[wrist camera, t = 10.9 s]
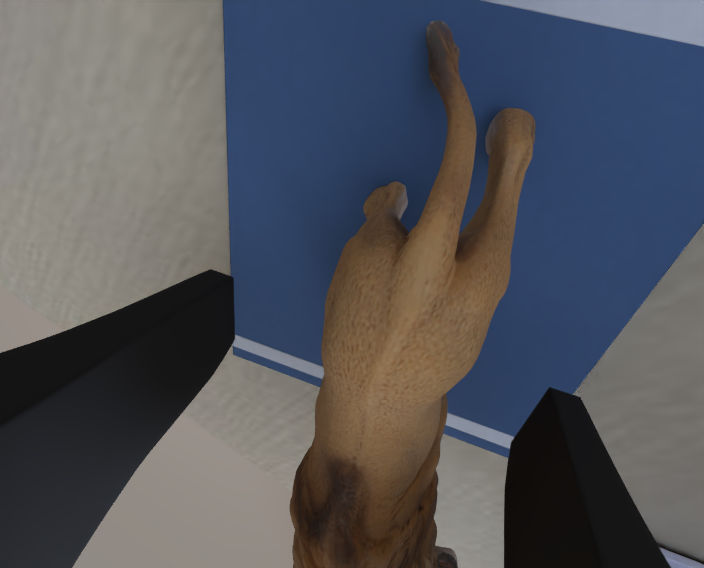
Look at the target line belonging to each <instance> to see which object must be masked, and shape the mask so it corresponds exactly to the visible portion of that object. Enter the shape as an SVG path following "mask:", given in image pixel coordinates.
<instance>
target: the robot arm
mask: <svg viewBox="0 0 704 568" xmlns="http://www.w3.org/2000/svg"><path fill="white" fill-rule="evenodd" d="M234 340H235V314H234V277H231V276H228V275H225V274H223V273H220V272H217V271H214V270H211V269H210V270H208V271H205V272H203V273H200V274H198V275H196V276H193V277H191V278H189V279H187V280H184V281H182V282H180V283H178V284H176V285H173V286H171V287H169V288H167V289H165V290H162V291H160V292H158V293H156V294H153V295H151V296H149V297H147V298H144V299H142V300H140V301H138V302H135V303H133V304H131V305H128V306H126V307H124V308H122V309H119V310H117V311H115V312H112V313H109V314H107V315H104V316H102V317H99V318H97V319H94V320H92V321H89V322H87V323H84V324H82V325H79V326H77V327H74V328H72V329H69V330H67V331H64V332H61V333H59V334H56V335H53V336H50V337H47V338H45V339H42V340H39V341H36V342H33V343H30V344H27V345H24V346H21V347H17V348H14V349H12V350H8V351H5V352H2V353H0V568H72V567H73V565H74V564H75V562H76V560H77V559H78V557H79V556H80V554H81V552H82V551H83V549H84V548H85V546H86V544H87V543H88V541H89V540H90V538H91V537H92V535H93V534H94V532H95V531H96V529H97V527H98V526H99V524H100V523H101V521H102V520H103V518H104V517H105V515H106V514H107V512H108V511H109V509H110V508H111V506H112V505H113V503H114V502H115V500H116V499H117V497H118V496H119V494H120V493H121V491H122V490H123V488H124V487H125V485H126V484H127V483H128V481H129V480H130V478H131V477H132V475H133V474H134V472H135V471H136V469H137V468H138V467H139V465H140V464H141V463H142V461H143V460H144V459H145V457H146V456H147V455H148V454H149V452H150V451H151V450H152V449H153V447H154V446H155V445H156V444H157V442H158V441H159V440H160V439H161V438H162V436H163V435H164V434H165V433H166V432H167V430H168V429H169V428H170V427H171V426H172V424H173V423H174V422H175V421H176V419H177V418H178V417H179V416H180V415H181V413H182V412H183V411H184V410H185V409H186V407H187V406H188V405H189V404H190V403H191V401H192V400H193V399H194V398H195V396H196V395H197V394H198V393H199V392H200V390H201V389H202V388H203V387H204V385H205V384H206V383H207V382H208V380H209V379H210V378H211V377H212V375H213V374H214V372H215V371H216V369H217V368H218V366H219V365H220V363H221V362H222V360H223V358H224V357H225V355H226V354H227V352H228V350H229V349H230V347H231V345H232V344H233V342H234ZM504 568H704V564H702V563H699V562H697V561H694V560H691V559H689V558H686V557H684V556H681V555H678V554H676V553H673V552H671V551H668V550H666V549H663V548H660V547H659V546H658V545H657V543H656V541H655V540H654V538H653V536H652V534H651V532H650V531H649V529H648V527H647V525H646V524H645V522H644V520H643V518H642V516H641V515H640V513H639V511H638V509H637V507H636V505H635V504H634V502H633V500H632V498H631V496H630V494H629V492H628V491H627V489H626V487H625V485H624V483H623V481H622V479H621V477H620V475H619V473H618V472H617V470H616V468H615V466H614V464H613V462H612V460H611V458H610V456H609V454H608V452H607V450H606V448H605V446H604V444H603V442H602V440H601V438H600V436H599V434H598V432H597V430H596V428H595V426H594V424H593V422H592V420H591V418H590V416H589V414H588V412H587V410H586V408H585V406H584V404H583V402H582V400H581V398H580V397H577V396H575V395H572V394H569V393H566V392H563V391H560V390H557V389H554V388H551V387H549V388H548V390H547V391H546V393H545V394H544V395H543V397H542V398H541V400H540V401H539V403H538V404H537V406H536V407H535V408H534V410H533V411H532V413H531V414H530V416H529V417H528V418H527V420H526V421H525V423H524V424H523V426H522V427H521V429H520V430H519V431H518V433H517V434H516V436H515V437H514V439H513V440H512V441H511V445H510V452H509V459H508V466H507V474H506V483H505V507H504Z"/></svg>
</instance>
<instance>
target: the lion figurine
mask: <svg viewBox="0 0 704 568" xmlns="http://www.w3.org/2000/svg"><path fill="white" fill-rule="evenodd" d="M426 43H427V48H428V70H429V76H430V79H431V80H432V82H433V83H434V85H435V86H436V88H437V90H438V91H439V94H440V96H441V98H442V101H443V103H444V107H445V111H446V114H447V138H446V145H445V151H444V156H443V160H442V163H441V167H440V170H439V173H438V175H437V178H436V180H435V182H434V185H433V187H432V190H431V192H430V195H429V197H428V200H427V202H426V205H425V207H424V210H423V212H422V215H421V217H420V219H419V221H418V223H417V225H416V226H415V227H414V228H413V229H412V230H411V231H410V233H409V232H408V230H407V229H406V228H405V226H404V225H403V224H402V223H401V222H400V219H401V217H402V215H403V212H404V211H405V209H406V208H407V205H408V199H407V193H406V187H405V185H403V184H402V183H400V182H398V181H394V182H391V183H390V184H389V185H388V186H382V187H379V188H377V189H375V190H374V191H373V192H372V193H371V194H370V196H369V197H368V198H367V200H366V202H365V203H364V207H363V210H364V214H365V216H366V218H367V221H366V222H365V223H364V224H363V225H362V227H361V228H360V229H359V231H358V232H357V234H356V235H355V236H353V237H352V238H351V239H350V240H349V241H348V242H347V243H346V244H345V246H344V248H343V251H342V254H341V257H340V259H339V262H338V264H337V267H336V270H335V273H334V276H333V278H332V281H331V284H330V287H329V290H328V293H327V297H326V302H325V316H324V327H323V336H322V345H321V358H322V363H323V368H324V376H323V379H322V383H321V387H320V391H319V394H318V397H317V401H316V408H315V425H316V427H315V438H314V440H313V443H312V446H311V447H310V448H309V449H308V451H307V453H306V454H305V456H304V458H303V460H302V462H301V464H300V465H299V467H298V469H297V471H296V475H295V480H294V485H293V494H292V498H291V502H290V514H291V518H292V522H293V525H294V528H295V534H294V542H293V560H294V564H293V568H458V566H457V557H456V554H455V552H454V551H453V550H452V549H450V548H446V547H439V546H435V542H436V537H437V527H436V523H435V521H434V514H435V511H436V503H437V485H438V476H437V472H436V467H437V464H438V461H439V457H440V441H441V438H442V435H443V432H444V428H445V424H446V419H447V407H448V402H447V394H446V393H447V392H448V391H449V390H450V389H451V388H452V387H453V386H454V385H456V384H457V383H458V382H459V381H460V380H461V379H462V378H464V377H465V375H466V374H467V373H468V372H469V371H470V370H471V368H472V367H473V365H474V363H475V361H476V360H477V358H478V356H479V353H480V351H481V348H482V345H483V343H484V340H485V338H486V334H487V331H488V328H489V325H490V322H491V319H492V317H493V314H494V311H495V309H496V307H497V305H498V303H499V301H500V299H501V298H502V297H503V295H504V293H505V292H506V289H507V286H508V283H509V278H510V271H511V261H510V256H511V250H512V244H513V238H514V231H515V224H516V216H517V209H518V201H519V197H520V192H521V188H522V184H523V180H524V176H525V172H526V170H527V168H528V166H529V163H530V161H531V159H532V155H533V144H534V142H535V120H534V118H533V116H532V115H531V114H530V113H529V112H527V111H525V110H522V109H518V108H506V109H503V110H501V111H500V112H499V113H498V114H497V115H496V116H495V117H494V119H493V120H492V122H491V123H490V126H489V128H488V131H487V134H486V138H485V146H486V152H487V154H488V155H489V164H488V176H487V183H486V188H485V192H484V197H483V199H482V202H481V204H480V206H479V207H478V209H477V211H476V212H475V214H474V216H473V217H472V219H471V220H470V222H469V223H468V224H467V226H466V227H465V228H464V230H463V231H462V232H461V233H460V235H459V230H460V225H461V221H462V217H463V213H464V209H465V204H466V200H467V196H468V192H469V188H470V182H471V177H472V171H473V164H474V156H475V146H476V136H477V132H476V122H475V117H474V114H473V110H472V106H471V104H470V101H469V98H468V95H467V92H466V89H465V87H464V85H463V83H462V81H461V78H460V74H459V57H460V50H459V48H458V47H457V45H456V44H455V42H454V39H453V35H452V32H451V30H450V28H449V27H448V25H447V24H446V23H444V22H443V21H432V22H430V24H429V25H428V26H427V28H426Z"/></svg>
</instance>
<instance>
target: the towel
mask: <svg viewBox="0 0 704 568" xmlns="http://www.w3.org/2000/svg"><path fill="white" fill-rule="evenodd" d="M432 21H443V22H444V23H446V24H447V25H448V27H449V28H450V30H451V32H452V35H453V39H454V42H455V44H456V45H457V47H458V48H459V50H460V57H459V74H460V78H461V81H462V83H463V85H464V87H465V89H466V92H467V95H468V98H469V101H470V104H471V106H472V110H473V114H474V117H475V122H476V132H477V136H476V146H475V156H474V164H473V171H472V177H471V182H470V188H469V192H468V196H467V200H466V204H465V209H464V213H463V217H462V221H461V225H460V230H459V235H460V233H461V232H462V231H463V230H464V228H465V227H466V226H467V224H468V223H469V222H470V220H471V219H472V217H473V216H474V214H475V212H476V211H477V209H478V207H479V206H480V204H481V202H482V199H483V197H484V192H485V188H486V183H487V176H488V164H489V155H488V154H487V152H486V146H485V138H486V134H487V131H488V128H489V126H490V123H491V122H492V120H493V119H494V117H495V116H496V115H497V114H498V113H499V112H500V111H501V110H503V109H506V108H518V109H522V110H525V111H527V112H529V113H530V114H531V115H532V116H533V118H534V120H535V142H534V144H533V155H532V159H531V161H530V163H529V166H528V168H527V170H526V172H525V176H524V180H523V184H522V188H521V192H520V197H519V201H518V209H517V216H516V224H515V231H514V238H513V244H512V250H511V256H510V261H511V271H510V278H509V283H508V286H507V289H506V292H505V293H504V295H503V297H502V298H501V299H500V301H499V303H498V305H497V307H496V309H495V311H494V314H493V317H492V319H491V322H490V325H489V328H488V331H487V334H486V338H485V340H484V343H483V345H482V348H481V351H480V353H479V356H478V358H477V360H476V361H475V363H474V365H473V367H472V368H471V370H470V371H469V372H468V373H467V374H466V375H465V377H464V378H462V379H461V380H460V381H459V382H458V383H457V384H456V385H454V386H453V387H452V388H451V389H450V390H449V391H448V392H447V393H446V394H447V402H448V407H447V419H446V424H445V428H444V432H443V434H446V435H449V436H451V437H454V438H457V439H459V440H462V441H465V442H467V443H470V444H473V445H475V446H478V447H481V448H483V449H486V450H489V451H491V452H494V453H497V454H499V455H502V456H505V457H507V458H509V452H510V445H511V441H512V440H513V439H514V437H515V436H516V434H517V433H518V431H519V430H520V429H521V427H522V426H523V424H524V423H525V421H526V420H527V418H528V417H529V416H530V414H531V413H532V411H533V410H534V408H535V407H536V406H537V404H538V403H539V401H540V400H541V398H542V397H543V395H544V394H545V393H546V391H547V390H548V388H549V387H551V388H554V389H557V390H560V391H563V392H566V393H569V394H573V393H574V392H575V390H576V389H577V388H578V387H579V385H580V384H581V383H582V381H583V380H584V379H585V377H586V376H587V375H588V373H589V372H590V371H591V370H592V368H593V367H594V366H595V364H596V363H597V362H598V360H599V359H600V358H601V357H602V355H603V354H604V353H605V351H606V350H607V349H608V347H609V346H610V345H611V343H612V342H613V341H614V340H615V338H616V337H617V336H618V334H619V333H620V332H621V330H622V329H623V328H624V326H625V325H626V324H627V323H628V321H629V320H630V319H631V317H632V316H633V315H634V313H635V312H636V311H637V310H638V308H639V307H640V306H641V304H642V303H643V302H644V300H645V299H646V298H647V296H648V295H649V294H650V293H651V291H652V290H653V289H654V287H655V286H656V285H657V283H658V282H659V281H660V279H661V278H662V277H663V276H664V274H665V273H666V272H667V270H668V269H669V268H670V266H671V265H672V264H673V262H674V261H675V260H676V259H677V257H678V256H679V255H680V253H681V252H682V251H683V249H684V248H685V247H686V246H687V244H688V243H689V242H690V240H691V239H692V238H693V236H694V235H695V234H696V232H697V231H698V230H699V229H700V227H701V226H702V225H703V223H704V0H223V22H224V56H225V91H226V125H227V160H228V194H229V229H230V264H231V277H234V314H235V340H234V342H233V354H234V355H236V356H238V357H241V358H244V359H246V360H249V361H252V362H254V363H257V364H260V365H262V366H265V367H268V368H270V369H273V370H276V371H278V372H281V373H284V374H286V375H289V376H292V377H294V378H297V379H300V380H302V381H305V382H308V383H310V384H313V385H316V386H318V387H321V383H322V379H323V376H324V368H323V363H322V358H321V345H322V336H323V327H324V316H325V302H326V297H327V293H328V290H329V287H330V284H331V281H332V278H333V276H334V273H335V270H336V267H337V264H338V262H339V259H340V257H341V254H342V251H343V248H344V246H345V244H346V243H347V242H348V241H349V240H350V239H351V238H352V237H353V236H355V235H356V234H357V232H358V231H359V229H360V228H361V227H362V225H363V224H364V223H365V222H366V221H367V218H366V216H365V214H364V210H363V207H364V203H365V202H366V200H367V198H368V197H369V196H370V194H371V193H372V192H373V191H374V190H375V189H377V188H379V187H382V186H388V185H389V184H390V183H391V182H394V181H398V182H400V183H402V184H403V185H405V187H406V193H407V199H408V205H407V208H406V209H405V211H404V212H403V215H402V217H401V219H400V222H401V223H402V224H403V225H404V226H405V228H406V229H407V230H408V232H409V233H410V231H411V230H412V229H413V228H414V227H415V226H416V225H417V223H418V221H419V219H420V217H421V215H422V212H423V210H424V207H425V205H426V202H427V200H428V197H429V195H430V192H431V190H432V187H433V185H434V182H435V180H436V178H437V175H438V173H439V170H440V167H441V163H442V160H443V156H444V151H445V145H446V138H447V114H446V111H445V107H444V103H443V101H442V98H441V96H440V94H439V91H438V90H437V88H436V86H435V85H434V83H433V82H432V80H431V79H430V76H429V70H428V48H427V43H426V28H427V26H428V25H429V24H430V22H432Z"/></svg>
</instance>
